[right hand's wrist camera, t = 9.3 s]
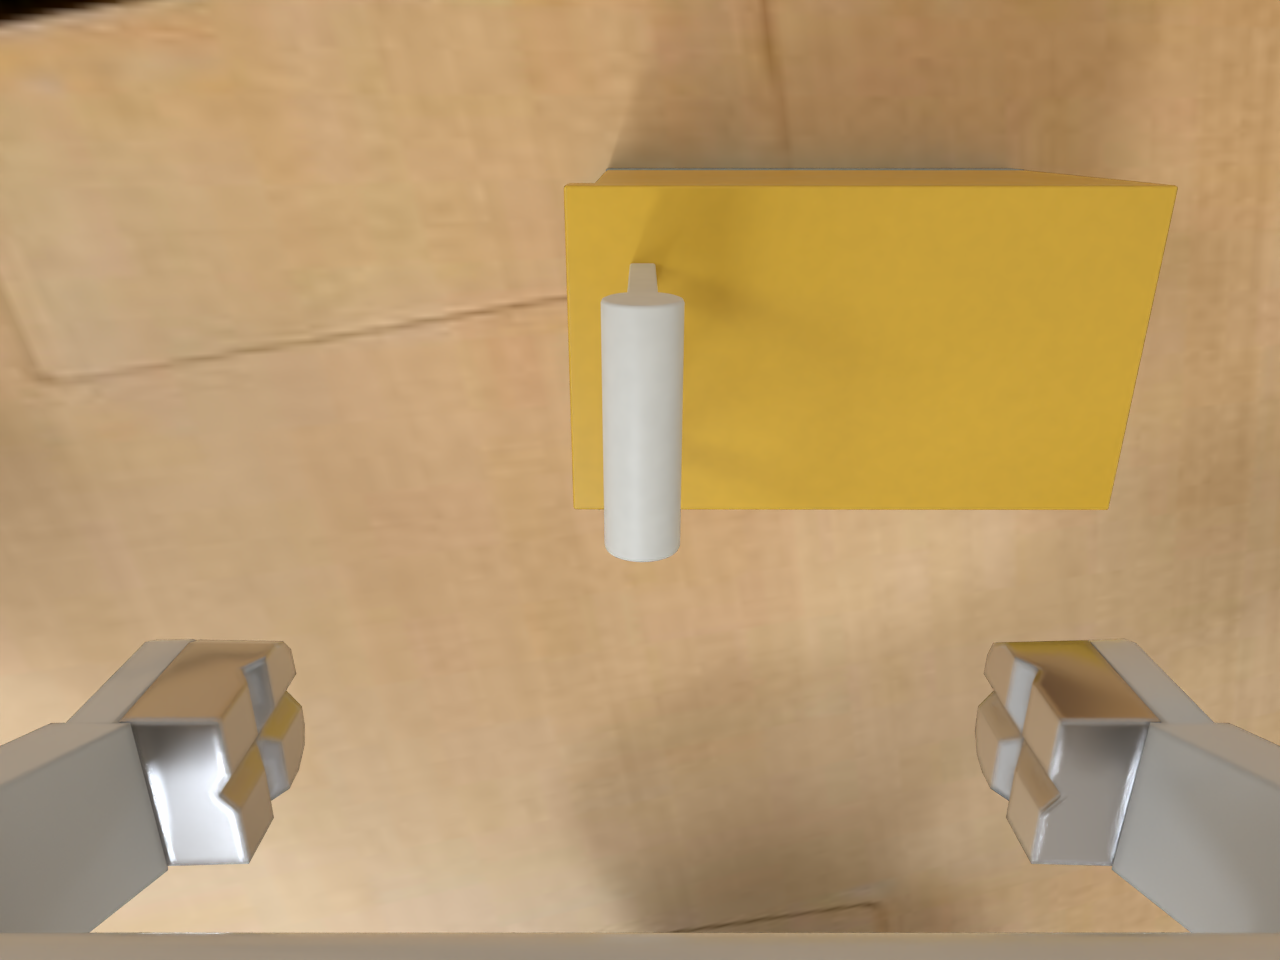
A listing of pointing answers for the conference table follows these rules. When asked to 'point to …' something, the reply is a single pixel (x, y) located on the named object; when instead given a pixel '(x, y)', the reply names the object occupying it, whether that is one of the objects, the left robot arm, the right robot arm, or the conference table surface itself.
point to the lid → (852, 346)
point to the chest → (839, 176)
